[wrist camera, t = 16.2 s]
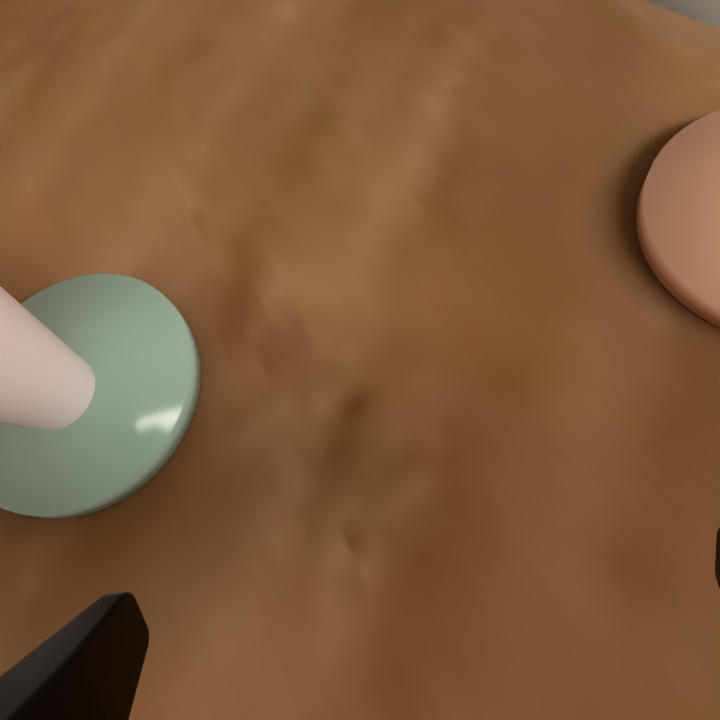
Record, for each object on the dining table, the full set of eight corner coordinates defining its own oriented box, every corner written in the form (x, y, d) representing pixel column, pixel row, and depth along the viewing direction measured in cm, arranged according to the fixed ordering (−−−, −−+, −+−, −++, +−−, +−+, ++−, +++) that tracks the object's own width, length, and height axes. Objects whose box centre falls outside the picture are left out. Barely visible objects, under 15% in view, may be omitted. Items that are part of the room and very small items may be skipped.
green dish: (108, 567, 24) (91, 565, 22) (-73, 454, 27) (-96, 448, 26) (246, 329, 27) (237, 318, 26) (67, 258, 31) (53, 245, 30)
